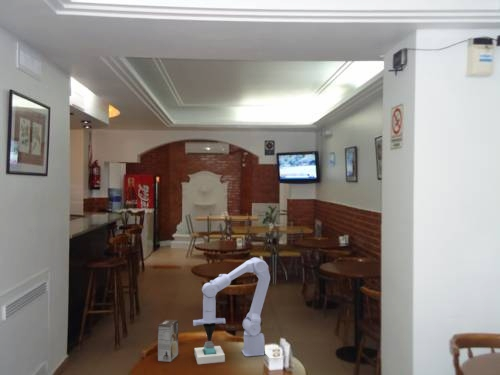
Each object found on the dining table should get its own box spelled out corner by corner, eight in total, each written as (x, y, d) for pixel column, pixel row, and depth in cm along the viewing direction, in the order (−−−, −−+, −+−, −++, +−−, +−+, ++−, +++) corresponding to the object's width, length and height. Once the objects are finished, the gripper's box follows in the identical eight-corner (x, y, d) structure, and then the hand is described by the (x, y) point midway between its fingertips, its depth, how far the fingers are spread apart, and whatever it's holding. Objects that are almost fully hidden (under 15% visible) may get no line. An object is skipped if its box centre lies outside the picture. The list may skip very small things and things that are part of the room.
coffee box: (165, 353, 202) (165, 319, 202) (178, 354, 201) (178, 319, 201) (157, 361, 193) (157, 324, 193) (171, 362, 192) (171, 325, 192)
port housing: (220, 352, 204) (220, 345, 204) (224, 361, 192) (224, 354, 192) (194, 354, 201) (194, 348, 201) (197, 364, 189) (197, 357, 189)
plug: (212, 353, 200) (212, 340, 200) (214, 358, 194) (214, 345, 194) (203, 354, 199) (204, 341, 199) (205, 359, 193) (205, 345, 193)
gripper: (223, 306, 203) (223, 336, 202) (192, 308, 199) (192, 338, 199) (226, 310, 196) (226, 341, 195) (194, 312, 192) (194, 343, 192)
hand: (209, 340), depth 197 cm, fingers closed
